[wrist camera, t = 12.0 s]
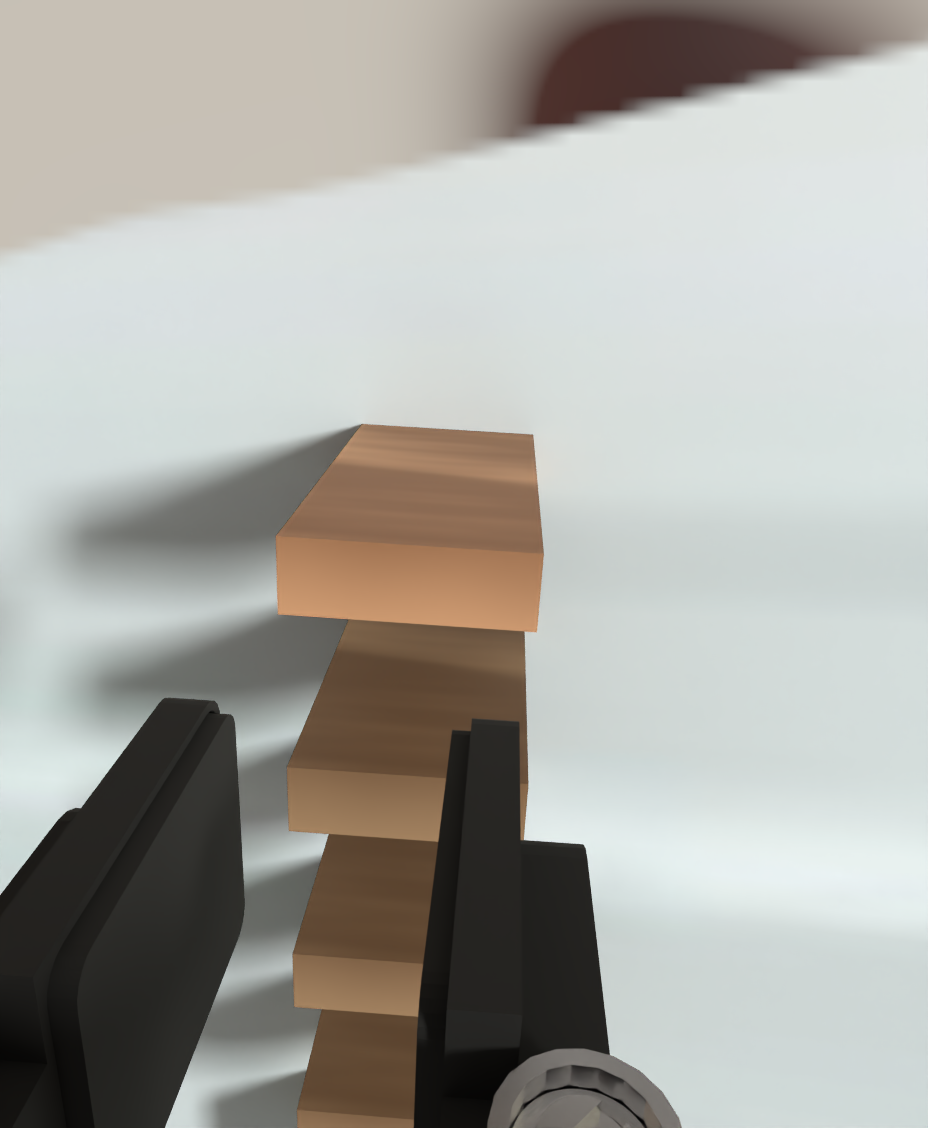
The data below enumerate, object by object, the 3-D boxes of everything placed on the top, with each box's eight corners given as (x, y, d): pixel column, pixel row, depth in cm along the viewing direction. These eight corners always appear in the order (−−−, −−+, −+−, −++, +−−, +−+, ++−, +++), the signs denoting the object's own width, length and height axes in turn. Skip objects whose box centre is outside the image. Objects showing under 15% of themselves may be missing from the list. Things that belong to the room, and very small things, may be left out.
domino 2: (519, 640, 28) (522, 847, 19) (363, 630, 28) (288, 830, 19) (523, 594, 28) (528, 784, 18) (363, 584, 28) (286, 767, 18)
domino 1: (529, 487, 26) (536, 632, 17) (361, 477, 26) (277, 614, 17) (533, 434, 26) (544, 553, 16) (361, 423, 26) (275, 536, 17)
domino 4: (500, 893, 32) (494, 1171, 22) (361, 882, 32) (298, 1155, 22) (503, 856, 31) (498, 1126, 22) (361, 846, 31) (297, 1109, 22)
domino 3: (509, 774, 30) (508, 1023, 21) (362, 764, 30) (294, 1006, 21) (513, 733, 29) (512, 970, 20) (362, 723, 29) (292, 953, 20)
